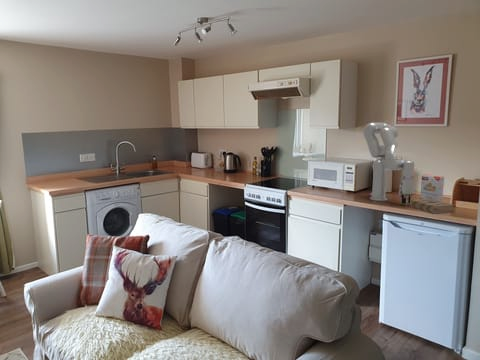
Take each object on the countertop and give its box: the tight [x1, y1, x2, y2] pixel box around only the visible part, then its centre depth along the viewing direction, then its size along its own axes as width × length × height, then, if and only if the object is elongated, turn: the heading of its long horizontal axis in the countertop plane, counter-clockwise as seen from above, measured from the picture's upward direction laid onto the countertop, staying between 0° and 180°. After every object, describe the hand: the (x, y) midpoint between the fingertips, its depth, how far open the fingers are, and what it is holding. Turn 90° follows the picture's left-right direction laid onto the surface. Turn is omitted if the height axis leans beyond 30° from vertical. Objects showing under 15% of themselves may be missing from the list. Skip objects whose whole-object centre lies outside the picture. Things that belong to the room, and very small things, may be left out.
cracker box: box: [419, 173, 445, 202], centre depth 268 cm, size 14×6×21 cm, turn 31°
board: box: [410, 198, 454, 215], centre depth 250 cm, size 20×16×5 cm
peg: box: [402, 194, 409, 207], centre depth 263 cm, size 3×3×9 cm
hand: (405, 202), depth 263 cm, fingers closed on peg, 3 cm apart
